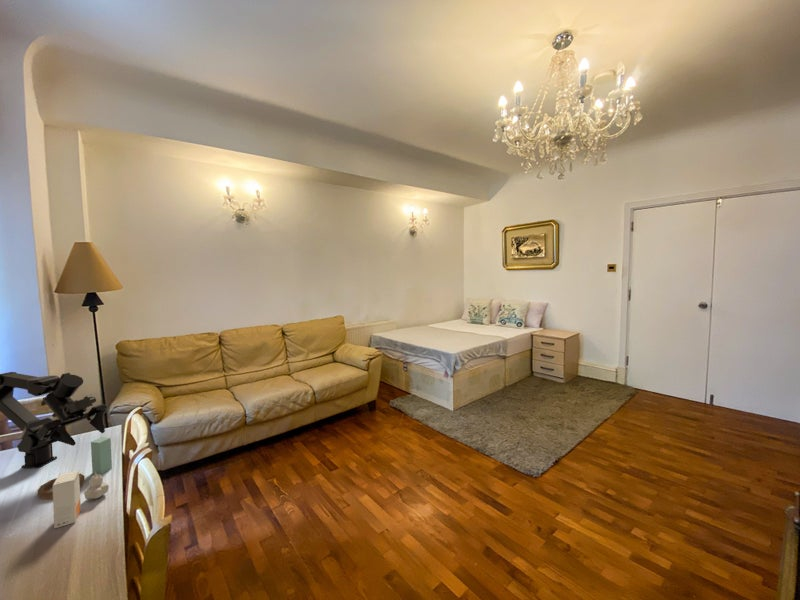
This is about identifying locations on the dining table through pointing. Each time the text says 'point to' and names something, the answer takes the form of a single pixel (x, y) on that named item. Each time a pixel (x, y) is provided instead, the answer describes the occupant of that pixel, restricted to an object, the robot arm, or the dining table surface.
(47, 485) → the walnut ring
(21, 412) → the robot arm
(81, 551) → the dining table surface
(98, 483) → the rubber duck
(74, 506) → the skincare box
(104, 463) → the green rectangular block
